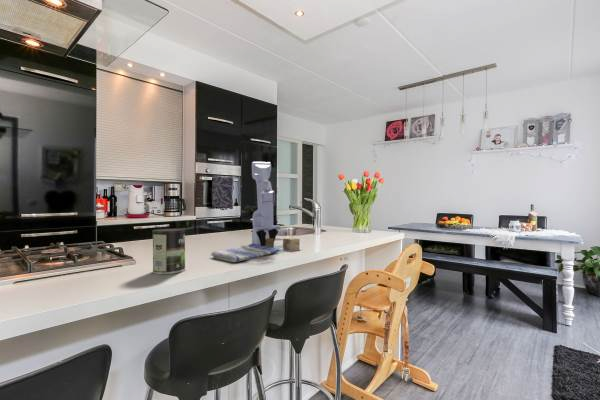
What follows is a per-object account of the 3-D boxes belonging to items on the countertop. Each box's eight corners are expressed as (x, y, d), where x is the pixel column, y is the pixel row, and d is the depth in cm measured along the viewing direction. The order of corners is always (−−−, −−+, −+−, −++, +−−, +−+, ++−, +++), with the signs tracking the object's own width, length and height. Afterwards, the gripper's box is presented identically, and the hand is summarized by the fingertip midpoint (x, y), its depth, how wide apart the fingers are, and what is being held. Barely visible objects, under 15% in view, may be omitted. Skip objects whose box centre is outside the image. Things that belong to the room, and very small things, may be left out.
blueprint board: (255, 250, 143) (255, 248, 143) (281, 246, 154) (281, 244, 154) (275, 255, 131) (275, 253, 131) (303, 250, 142) (303, 248, 142)
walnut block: (260, 248, 143) (260, 238, 143) (268, 247, 146) (268, 237, 146) (266, 249, 140) (266, 239, 140) (273, 248, 143) (273, 238, 143)
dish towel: (209, 257, 126) (209, 251, 126) (254, 248, 143) (254, 242, 143) (234, 263, 114) (233, 256, 114) (279, 253, 131) (279, 246, 131)
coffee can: (188, 266, 109) (187, 227, 109) (181, 274, 99) (181, 230, 99) (157, 268, 108) (157, 228, 108) (148, 275, 97) (147, 231, 97)
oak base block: (282, 248, 142) (282, 238, 142) (291, 247, 146) (291, 237, 146) (290, 250, 138) (290, 239, 138) (299, 249, 142) (299, 238, 142)
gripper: (259, 218, 135) (259, 248, 135) (284, 216, 145) (284, 245, 145) (250, 217, 140) (250, 246, 140) (275, 216, 150) (275, 243, 150)
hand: (267, 245), depth 143 cm, fingers closed on walnut block, 4 cm apart
